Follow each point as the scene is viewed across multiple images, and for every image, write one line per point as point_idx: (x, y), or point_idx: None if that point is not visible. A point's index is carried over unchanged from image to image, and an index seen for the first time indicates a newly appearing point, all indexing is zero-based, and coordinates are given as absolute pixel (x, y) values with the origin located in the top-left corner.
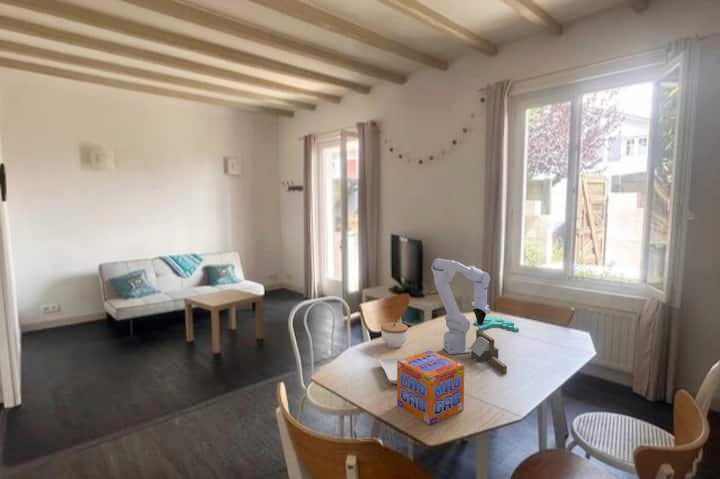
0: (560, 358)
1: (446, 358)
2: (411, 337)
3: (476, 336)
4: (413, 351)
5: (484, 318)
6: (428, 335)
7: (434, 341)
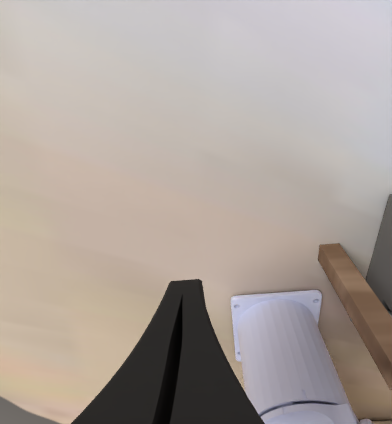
0: None
1: None
2: None
3: (366, 338)
4: None
5: (213, 334)
6: (76, 365)
7: None
